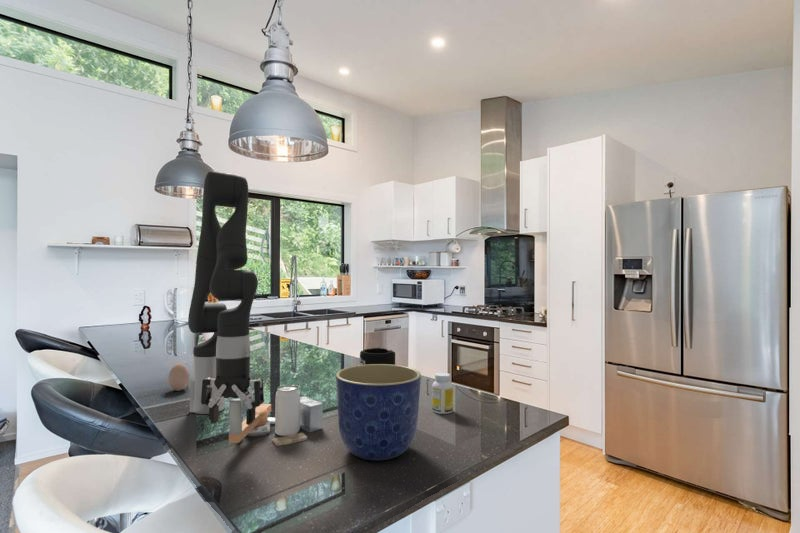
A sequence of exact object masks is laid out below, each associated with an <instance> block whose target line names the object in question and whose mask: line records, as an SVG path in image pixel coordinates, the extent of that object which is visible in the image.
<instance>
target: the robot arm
mask: <svg viewBox="0 0 800 533" xmlns="http://www.w3.org/2000/svg"><path fill="white" fill-rule="evenodd" d="M205 175H206V176H205V178H204V183H203V194H202V195H203V196H202V214H201V215H202V216H201V225H200V226H201V227H200V228H201V229H200V233H199V234H200V235H199V240H198V246H197V254H196V262H195V263H196V264H195V273H194V283H193V284H194V285H193V291H192V297H191V301H190V307H189V311H188V317H187V318H188V320H187V322H188V323H187V324H188V329H189V331H190V332H191V333H193V334H209V333H213V334H212V335H211V337H210V338H208V339H207V340H205V341H203V342H201V343H198V344H196V345H195V346H194V347H193V357H192V358H193V359H192V360H193V366H192V368H193V371H192V372H193V373H192V374H193V375H192V380H191V379H190V380H189V413H193V414H199V415H207V414H208V420H209V421H210V423H211V424H216V423H217V422H218V421H219V418H220V417H219V416H220V415H219V412H221V411H223V410H224V409H225V408H226V406H225V405H226V399H229V398H232V399H240V400H241V401H242V403H244V405H245V406H246V407H247V408H246V413H245V414H246V418H245V419H246V424H247V425H250V424H251V423H252V422H253V421H254V420H255V409H256V408H257V407H258V406H260V405H261V404H264V402H265V397H264V396H265V394H264V380H263V378H258V379H252V378H251V377H250V371H251V352H252V351H251V340H250V320H251V319H250V317H251V312H252V311H251V310H252V306H253V303H254V299H255V296H256V293H257V291H258V287H259V286H258V285H259V280H258V276H257V275H256V273H255V272H254V271H253V270H249V269H241V268H243V267H244V266H246V264H247V263H248V249H247V248H248V247H247V245H248V244H247V234H246V233H247V222H248V209H249V208H248V206H249V185H248V180H247V178H246V177H245V176H243V175H240V174H235V173H229V172H223V171H215V170H209V171H208V172H207V173H206V174H205ZM216 207H224V208H226V207H227V208H233V209H234V212H233V213H232V215H231V216H230V217H229V218H228V220H227V221H225V223H224V224H223V225H222V226H221V224H220V221H219V219H218V217H217V213H216ZM209 295H212V296H213V298H214V299H216V300H219V301H221V300H222V301H225V300H226V301H228V300H240V303H239V304H238V305H237V306H236V307H233V308H229V309H227V305H226V304H225V303H223V302H206V301H207V299H208V297H209ZM250 386H251V388H252V389H253V393H254V394H253V393H252V392H251V391H250V389H249V388H250ZM253 395H254V396H253Z"/></svg>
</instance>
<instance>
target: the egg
mask: <svg viewBox="0 0 800 533" xmlns="http://www.w3.org/2000/svg"><path fill="white" fill-rule="evenodd" d="M167 381H168V385H169V387H170V388H171V389H172V390H174V391H176V392H178V391H182V390H184V389H185V388H186V387H187V386H188V384H189V383H190V372H189V369H188V368H187V366H186V365H185V364H183V363H180V362H179V363H178V362H177V363H176V364H175V365H173V366H172V367H171V369H170V371H169V373H168V380H167Z"/></svg>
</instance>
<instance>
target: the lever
mask: <svg viewBox="0 0 800 533" xmlns="http://www.w3.org/2000/svg"><path fill="white" fill-rule="evenodd" d="M271 412H272V403H262V404H261V405H260V406H258V407H256V408H255V420H254V421H253V422H252V423H251V424H250V425H247V424H246V418H245V419H244V420H243V422H242V416H243V402H242V401H241V400H240V398H232V399H230V400H229V420H228V421H229V422H228V423H229V425H228V427H229V428H228V429H229V430H228V431H229V432H228V443H229V444H232V443H234V444H235V443H236V444H239V443H240V442H242V441H243V440H242V439H245V437H246V436H247V434H248V433H249V432H250V431H251V430H252V429H253V428H254V427H255V426H260V425H264V424H266V423H267V422H268V416H269V414H270V413H271ZM241 440H242V441H241Z"/></svg>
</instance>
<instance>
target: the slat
mask: <svg viewBox="0 0 800 533" xmlns="http://www.w3.org/2000/svg"><path fill="white" fill-rule="evenodd" d="M303 441H308V436H307V435H306V434H305V433H304V432H298V433H297V434H293V435H288V436H279V437H274V438H272V440H271V442H272V443H273V444H274V446H275V447H279V446H285V445H290V444H294V443H300V442H303Z"/></svg>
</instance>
